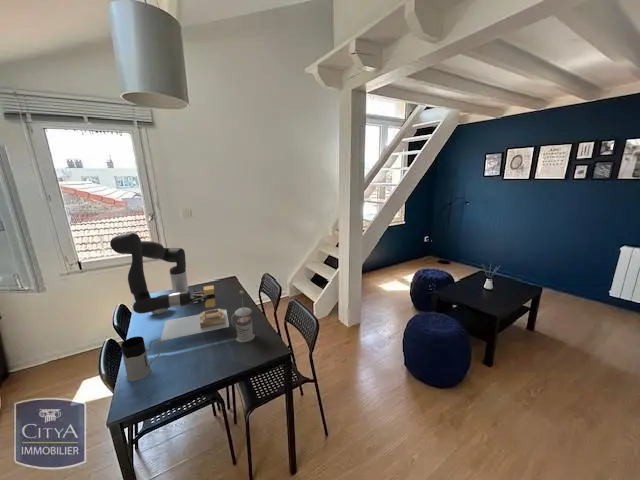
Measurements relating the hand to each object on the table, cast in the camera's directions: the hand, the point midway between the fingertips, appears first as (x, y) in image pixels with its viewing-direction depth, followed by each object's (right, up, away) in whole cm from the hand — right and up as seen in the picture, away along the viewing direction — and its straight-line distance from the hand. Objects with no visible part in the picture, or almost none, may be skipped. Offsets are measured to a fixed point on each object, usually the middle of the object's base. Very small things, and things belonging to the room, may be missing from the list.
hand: (214, 293), depth 149 cm
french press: (+18, -20, -9) cm, 28 cm away
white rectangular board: (-10, -17, 0) cm, 20 cm away
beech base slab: (-2, -15, +3) cm, 16 cm away
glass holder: (-16, -26, -33) cm, 45 cm away
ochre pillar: (-2, -6, +1) cm, 7 cm away
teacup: (-37, -14, +13) cm, 41 cm away
